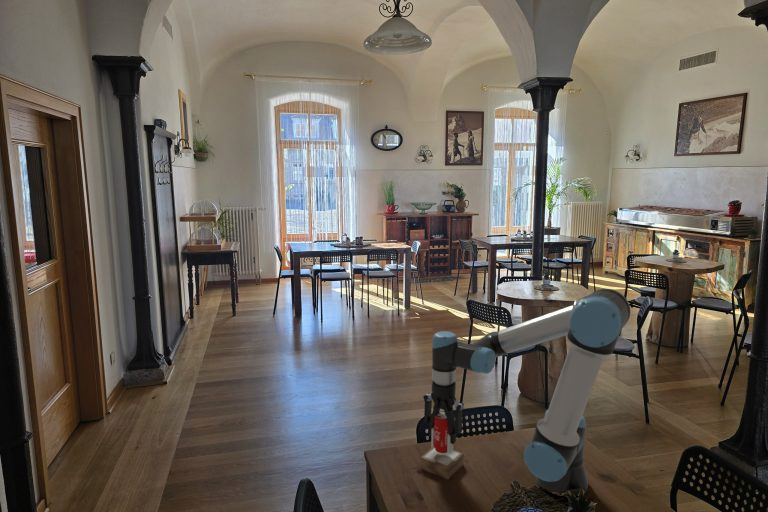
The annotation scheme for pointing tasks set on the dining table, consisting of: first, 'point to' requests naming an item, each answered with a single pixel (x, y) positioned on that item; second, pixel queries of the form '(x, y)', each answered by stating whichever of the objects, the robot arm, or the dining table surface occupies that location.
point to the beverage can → (441, 432)
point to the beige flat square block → (442, 462)
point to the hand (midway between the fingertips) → (442, 448)
